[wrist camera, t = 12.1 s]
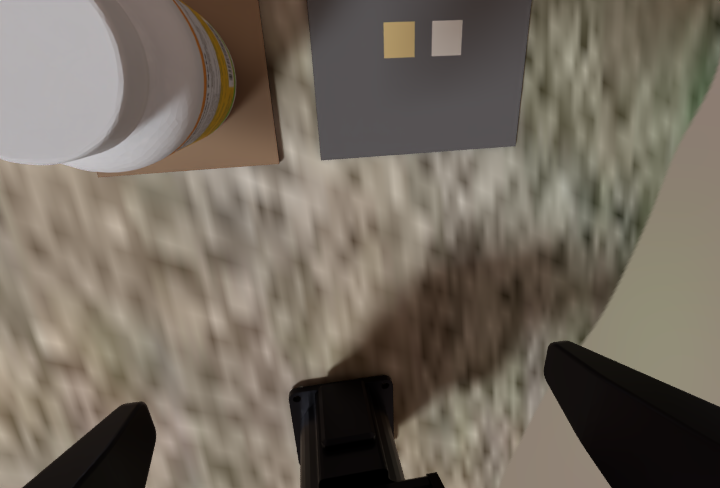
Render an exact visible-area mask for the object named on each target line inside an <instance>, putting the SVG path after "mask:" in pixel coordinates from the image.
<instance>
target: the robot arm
mask: <svg viewBox="0 0 720 488" xmlns="http://www.w3.org/2000/svg"><path fill="white" fill-rule="evenodd" d="M544 376H545V379H546V381H547V383H548V385H549V387H550V389H551V390H552V392H553V394H554V396H555V397H556V399H557V401H558V403H559V405H560V406H561V408H562V410H563V412H564V414H565V415H566V417H567V419H568V421H569V423H570V424H571V426H572V428H573V430H574V432H575V433H576V435H577V437H578V438H579V440H580V442H581V443H582V445H583V446H584V448H585V449H586V451H587V452H588V454H589V455H590V457H591V458H592V460H593V461H594V463H595V464H596V466H597V467H598V469H599V470H600V471H601V473H602V474H603V476H604V477H605V479H606V480H607V482H608V483H609V485H610V486H611V487H612V488H720V407H719V406H716V405H714V404H712V403H710V402H707V401H705V400H703V399H701V398H698V397H696V396H694V395H691V394H689V393H687V392H685V391H682V390H680V389H677V388H675V387H673V386H671V385H669V384H666V383H664V382H662V381H659V380H657V379H655V378H652V377H650V376H648V375H646V374H643V373H641V372H639V371H636V370H634V369H632V368H630V367H627V366H625V365H623V364H620V363H618V362H616V361H613V360H611V359H609V358H607V357H604V356H602V355H600V354H598V353H595V352H593V351H591V350H589V349H586V348H584V347H582V346H579V345H577V344H575V343H573V342H570V341H559V342H553V343H550V345H549V346H548V349H547V355H546V360H545V366H544ZM383 383H386V384H383ZM295 396H300V397H295ZM289 404H290V410H291V416H292V422H293V429H294V435H295V441H296V447H297V454H298V460H299V464H300V488H445V487H444V485H443V484H442V482H441V480H440V478H439V476H438V474H437V472H435V473H429V474H426V476H424V477H419V478H413V479H408V480H405V478H404V474H403V471H402V467H401V463H400V460H399V456H398V452H397V449H396V445H395V441H394V425H393V384H392V380H391V378H390V377H389V376H387V375H382V376H375V377H368V378H361V379H355V380H348V381H341V382H334V383H327V384H321V385H314V386H307V387H300V388H295V389H293V390H291V391H290V393H289ZM155 442H156V430H155V427H154V424H153V421H152V418H151V415H150V413H149V410H148V407H147V405H146V404H145V403H144V402H133V403H126V404H123V405H121V406H119V407H118V408H117V409H115V410H114V411H113V412H112V413H111V414H109V415H108V416H107V417H106V418H105V419H104V420H102V421H101V422H100V423H99V424H98V425H96V426H95V427H94V428H93V429H92V430H90V431H89V432H88V433H87V434H86V435H84V436H83V437H82V438H81V439H80V440H78V441H77V442H76V443H75V444H74V445H73V446H71V447H70V448H69V449H68V450H67V451H65V452H64V453H63V454H62V455H61V456H59V457H58V458H57V459H56V460H55V461H53V462H52V463H51V464H50V465H49V466H47V467H46V468H45V469H44V470H43V471H41V472H40V473H39V474H38V475H37V476H36V477H34V478H33V479H32V480H31V481H30V482H28V483H27V484H26V485H25V486H24V487H22V488H145V485H146V481H147V477H148V472H149V468H150V464H151V459H152V455H153V451H154V447H155Z"/></svg>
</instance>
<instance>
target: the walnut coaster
mask: <svg viewBox="0 0 720 488" xmlns="http://www.w3.org/2000/svg"><path fill="white" fill-rule="evenodd" d="M181 1H182V2H184V3H185V4H186V5H188V6H189V7H190V8H192V9H193V10H194V11H196V12H197V13H198V14H200V15H201V16H202V17H203V18H204V19H205V20H207V21H208V22H209V23H210V24H211V25H212V27H213V28H214V29H215V30H216V31H217V33H218V34H219V35H220V37H221V38H222V40H223V41H224V43H225V45H226V46H227V48H228V50H229V53H230V55H231V58H232V60H233V64H234V68H235V74H236V95H235V100H234V104H233V107H232V109H231V111H230V113H229V115H228V116H227V118H226V119H225V121H224V122H223V123H222V124H221V126H220V127H219V128H217V129H216V130H215V131H214V132H213V133H211V134H210V135H208V136H207V137H205V138H203V139H201V140H199V141H197V142H195V143H193V144H191V145H189V146H187V147H185V148H183V149H181V150H179V151H177V152H175V153H173V154H171V155H170V156H168V157H166V158H164V159H162V160H160V161H158V162H156V163H154V164H151V165H149V166H146V167H143V168H140V169H136V170H131V171H125V172H112V173H105V172H97V175H98V177H108V176H121V175H135V174H148V173H162V172H175V171H189V170H202V169H216V168H229V167H243V166H256V165H270V164H279V155H278V147H277V140H276V132H275V124H274V117H273V109H272V101H271V94H270V86H269V79H268V71H267V63H266V56H265V48H264V40H263V33H262V25H261V17H260V10H259V2H258V0H181Z"/></svg>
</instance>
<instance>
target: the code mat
mask: <svg viewBox="0 0 720 488" xmlns="http://www.w3.org/2000/svg"><path fill="white" fill-rule="evenodd" d="M531 1H532V0H307V5H308V16H309V27H310V39H311V50H312V62H313V73H314V85H315V96H316V108H317V119H318V130H319V142H320V153H321V160H332V159H346V158H359V157H373V156H386V155H399V154H413V153H426V152H440V151H453V150H467V149H480V148H494V147H507V146H515V144H516V135H517V126H518V117H519V108H520V99H521V90H522V81H523V72H524V63H525V54H526V45H527V36H528V28H529V19H530V10H531Z"/></svg>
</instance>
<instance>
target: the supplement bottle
mask: <svg viewBox="0 0 720 488" xmlns="http://www.w3.org/2000/svg"><path fill="white" fill-rule="evenodd" d="M235 95H236V74H235V68H234V64H233V60H232V58H231V55H230V53H229V50H228V48H227V46H226V45H225V43H224V41H223V40H222V38H221V37H220V35H219V34H218V33H217V31H216V30H215V29H214V28H213V27H212V25H211V24H210V23H209V22H208V21H207V20H205V19H204V18H203V17H202V16H201V15H200V14H198V13H197V12H196V11H194V10H193V9H192V8H190V7H189V6H188V5H186V4H185V3H184V2H182V1H181V0H0V159H2V160H6V161H9V162H14V163H20V164H30V165H54V164H64V165H67V166H71V167H74V168H77V169H82V170H86V171H93V172H105V173H112V172H125V171H131V170H136V169H140V168H143V167H146V166H149V165H151V164H154V163H156V162H158V161H160V160H162V159H164V158H166V157H168V156H170V155H171V154H173V153H175V152H177V151H179V150H181V149H183V148H185V147H187V146H189V145H191V144H193V143H195V142H197V141H199V140H201V139H203V138H205V137H207V136H208V135H210V134H211V133H213V132H214V131H215V130H216V129H217V128H219V127H220V126H221V124H222V123H223V122H224V121H225V119H226V118H227V116H228V115H229V113H230V111H231V109H232V107H233V104H234V100H235Z"/></svg>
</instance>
